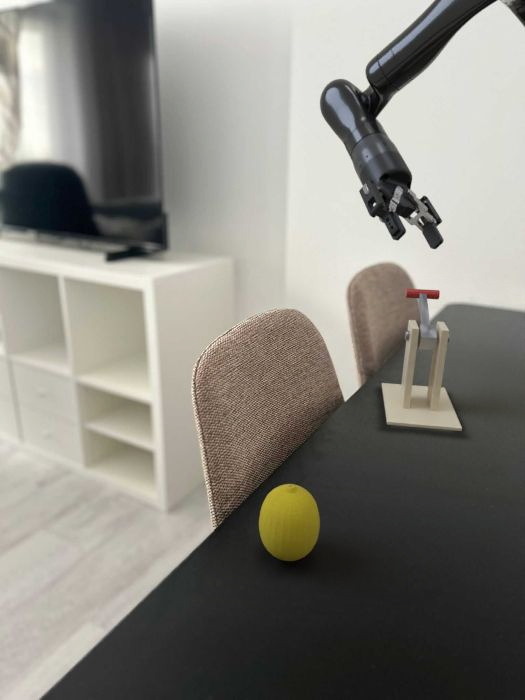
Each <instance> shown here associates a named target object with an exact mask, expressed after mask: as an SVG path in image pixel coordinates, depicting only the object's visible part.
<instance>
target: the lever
mask: <svg viewBox="0 0 525 700" xmlns="http://www.w3.org/2000/svg"><path fill="white" fill-rule="evenodd" d="M440 294H441V292H440V290H439V289H426V288H425V289H421V288H405V293H404V297H405V298H406V299H418V308H419V309H418V310H419V317H420V318H419V319H420V324H418V327H419V335H418V343H417V350H428V351H433V350H434V348H435V344H436V340H437V334H436V324H431V319H430V312H429V310H430V309H429V301H428V300H439V299H440Z"/></svg>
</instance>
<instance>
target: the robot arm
mask: <svg viewBox="0 0 525 700" xmlns="http://www.w3.org/2000/svg"><path fill="white" fill-rule="evenodd" d="M497 1H500V3H502V4H503V5H504V6H505V7H507V9H508V10H509V11H510V12H511V13H512V14H513V15H514V16H515V17H516V19H517V20H518V21H519V22H520V23H521V25H522V26H523V27H524V28H525V0H433V2H432V3H430V5H428V7H427V8H426V9H425V10H424V11H423V12H422V13H421V14H420V15H419V16H418V17H417V18H416V19H415V20H414V21H413V22H412V23H411V24H410V25H408V26H407V27H406V28H405V29H404V30H403V31H402V32H401V33H399V35H398V36H396V37H395V38H393V40H391V42H389V43H388V44H387V45H386V46H385V47H384V48H382V49H381V50H380V51H379V52H378V53H376V54H375V56H374V57H372V58H371V59H370V60H369V61H368V62H367V64H366V66H365V70H364V73H365V77H366V80H367V83H368V87H366V88H365V90H361V89H360V88H359V87H357V86H356V85H355V84H354V83H353V82H351V81H350V80H348V79H345V78H337V79H333V80H331V81H330V82H328V83H327V84H326V85H325V87H324V88H323V89H322V91H321V95H320V98H319V109H320V113H321V116H322V117H323V119H324V121H325V122H326V124H327V125H328V126H329V128H330V129H331V130H332V131H333V133H334V134H335V135H336V136H337V138H338V139H339V140H340V141H341V142H342V144H343V145H344V148H345V150H346V152H347V154H348V157H349V158H350V160H351V162H352V164H353V169H354V171H355V174H356V175H357V177H358V179H359V181H360V183H361V185H362V186H361V188H360V189H359V191H358V192H359V195H360V197H361V199H362V202H363V203H364V206H365V208H366V210H367V212H368V215H369V216H370V217H371V218H373V219H374V218H376V217H378V219H379V221H380V222H381V223H383V224H384V225H385V227H386V229H387V231H388V233H389V235H390V237H391V239H392V240H393V241H400V239H402V237H404V236H405V235H406V233H407V229H406V227H405V225H404V224H403V221H402V219H404V220H405V221H406V223H408V224H409V225H410V226H415V227H417V228H418V229H419V230H420V231H421V233H422V235H423V237H424V238H425V241H426V242H427V244H428V246H429V248H430V249H432V250H437V249H438V248H439V247H440V246H441V245H442V244H443V243H444V238H443V235H442V234H441V232H440V230H439V229H438V226H439V225H440V224H441V223H443V220H442V218H441V216H440V215H439V213H438V211H437V210H436V208H435V207H434V205H433V204H432V202H431V200H430V199H429V197H428V196H426V195H422V197H421V198H418V197H417V194H416V193H415V192H414V191H413V190H412V189H411V187H412V183H413V174H412V172H411V169H410V168H409V166H408V165H407V163H406V161H405V159H404V158H403V155H401V153H400V150H399V149H398V147H397V146H396V144H395V143H394V142H393V141H392V139H391V138H390V137H389V135H388V134H387V131H386V130H385V127H384V126H383V125H382V123H381V122H380V120H378V119H377V118H378V117H379V115H381V113H382V111H384V110H385V108H386V107H387V106H388V104H389V103H390V101H391V100H392V99H393V97H394V96H395V95H396V94H398V93H399V92H400V91H401V90H403V89H404V88H406V86H408V85H409V84H411V83H412V82H413V81H414V80H416V78H418V77H419V76H420V75H422V74H423V73H424V72H425V71H426V70H427V69H428V68H429V67H430V66H431V65H432V64H433V63H434V62H435V61H436V60H437V58H438V57H439V56H440V55H441V54H442V53H443V51H444V49H445V48H446V47H447V45H448V44H449V43H450V42H451V40H453V38H454V37H455V36H456V35H457V33H458V32H459V31H460V30H461V29H462V28H463V27H464V26H465V25H466V24H468V22H470V21H471V20H472V19H473V18H474V17H476V16H477V15H479V13H481V12H482V11H483V10H485V9H486V8H488V7H489V6H491V5H494V3H496V2H497ZM414 213H415V214H416V215H415V216H414V217H412V214H414ZM400 217H401V218H402V219H401V218H400Z"/></svg>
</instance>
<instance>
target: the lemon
mask: <svg viewBox="0 0 525 700" xmlns="http://www.w3.org/2000/svg"><path fill="white" fill-rule="evenodd" d="M320 528H321V519H320V512H319V508H318V504H317V502H316V500H315V498H314V496H313V495H312V493H310V492H309V491H308V490H307V489H305V487H302V486H300V485H297V484H295V483H294V484H293V483H284V484H282V485H281V484H280V485H278V486H276V487H274V488H273V489H272V490H271V491H270V492H269V493H267V495H266V497H265V499H264V500H263V502H262V505H261V507H260V510H259V518H258V530H259V536H260V539H261V542H262V544H263V546H264V548H265V549H266V550H267V552H269V554H271V555H272V557H275V558H276V559H278V560H281V561H284V562H285V561H286V562H295V561H298V560H301V559H303V558H305V557H306V556H307V555H308V554H310V553H311V552H312V550H313V549H314V547H315V546H316V544H317V541H318V538H319V534H320Z"/></svg>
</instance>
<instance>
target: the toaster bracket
mask: <svg viewBox="0 0 525 700" xmlns="http://www.w3.org/2000/svg"><path fill="white" fill-rule="evenodd" d="M435 326H436V334H437V340H436V344H435V348H434V350H432V355H431V356H432V357H431V362H430V363H431V364H430V371H429V377H428V386H427V385H415V384H414V385H413V383H414V376H415V375H414V374H415V368H416V359H417V351H418V335H419V324H418V322H417V320H416V319H409V320H408V323H407V330H405V332H404V341H405V350H404V358H403V366H402V367H403V368H402V375H401V383H390V382H389V383H388V382H387V383H386V382H381V391H382V398H383V405H384V413H385V419H386V425H387V426H388V425H389V426H399V427H400V426H401V427H411V428H423V429H424V428H425V429H434V430H445V431H457V432H458V431H459V432H463V426H462V425H461V422H460V420H459V418H458V415H457V413H456V410H455V408H454V406H453V403H452V401H451V398H450V397H449V393H448V392H447V389H446V388H445V387H442V385H443V378H444V377H443V376H444V371H445V364H446V356H447V349H448V344H449V343H450V330H449V328H448V326H447V325H446V323H445V322H444V321H436V324H435Z"/></svg>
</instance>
